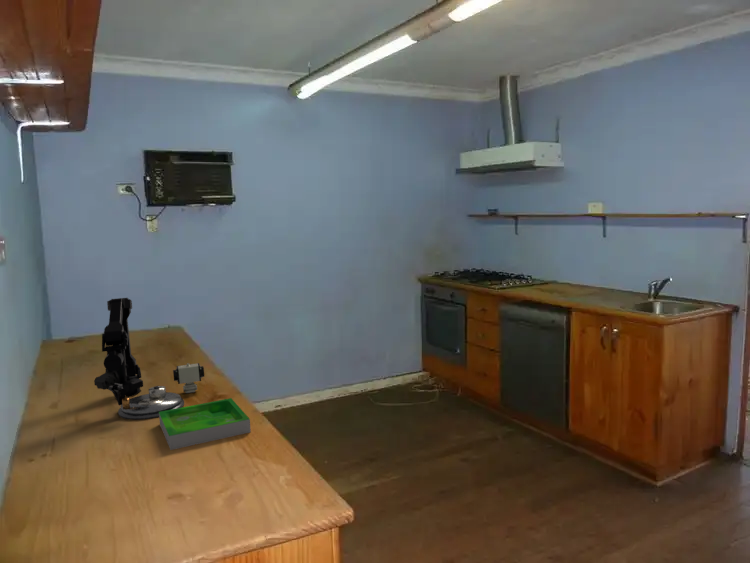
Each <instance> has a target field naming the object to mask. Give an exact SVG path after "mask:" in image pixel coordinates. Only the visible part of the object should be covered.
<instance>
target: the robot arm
mask: <svg viewBox="0 0 750 563" xmlns="http://www.w3.org/2000/svg"><path fill="white" fill-rule="evenodd" d="M106 302H107V303H106V304H107V311H108V312H109V319H108V320H109V321H108V324H107V325H106V326H105V327H104V330H103V333H102V334H101V352H106V356H105V358H104V360H103V366H104V368H105V372H104V373H102V374H101V375H99V376H96V377H95V379H94V382H93V383H94V386H96V388H97V389H98V390H99V389H101V390H103V391H104V390H109V391H110V392H112V394H113V396H114V398H115V400H116V402H117V404H118V406H121V405H122V399H123V398H126V397H133V396H134V397H135V396H136V395H138V394H139V393H141V392H142V390H141V388H142V387H144V380H142V379H141V378H142V371H141V367H139V364H137V359H136V358H135V357H134V356H133V355H132V350H131V341H130V331H129V330H130V329H129V320H128V319H129V317H130V315H131V313H132V309H133V301H132V299H129V298H128V297H119V298H111V299H109V300H107V301H106Z"/></svg>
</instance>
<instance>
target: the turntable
mask: <svg viewBox="0 0 750 563" xmlns="http://www.w3.org/2000/svg"><path fill="white" fill-rule="evenodd" d="M181 398H182V396H181V395H180V394H178V393H177V392H170V391H169V392H167V391H166V396H165V397H163V398H159V399H150V398H149V393H146V394H142V395H137V396H134V397H132V398H129V396H126V397H125V398H123V399H122V405H120V408H121V411H122V412H123V413H125V414H129V415H147V414H154V413H159V412H161V411H166V410H169V409H171V408H174V407H176V406H177V405H179V404H180V403H181Z"/></svg>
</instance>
